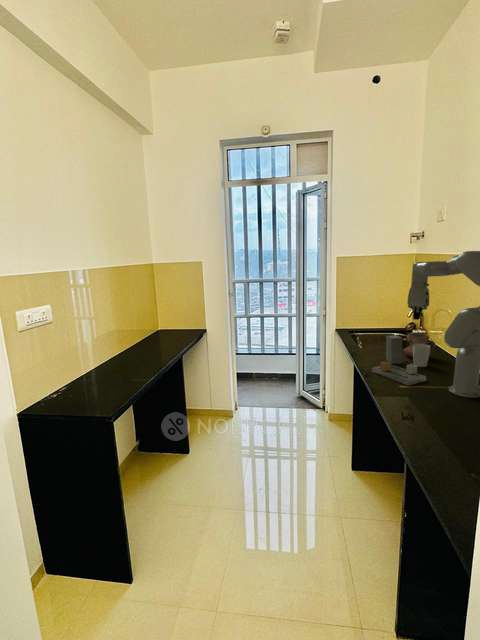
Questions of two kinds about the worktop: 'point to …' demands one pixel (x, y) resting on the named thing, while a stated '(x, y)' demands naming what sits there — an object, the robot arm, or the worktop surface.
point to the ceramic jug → (417, 342)
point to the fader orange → (385, 366)
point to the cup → (421, 354)
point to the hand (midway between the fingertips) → (416, 319)
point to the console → (400, 375)
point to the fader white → (411, 369)
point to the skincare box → (394, 349)
